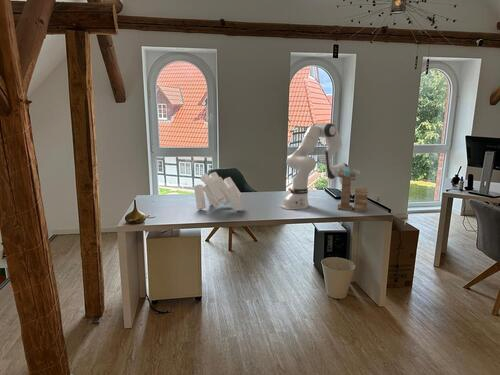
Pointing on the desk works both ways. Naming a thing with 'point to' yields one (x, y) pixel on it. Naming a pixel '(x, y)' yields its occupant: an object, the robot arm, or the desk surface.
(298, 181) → the robot arm
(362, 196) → the oak block
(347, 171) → the teal bar
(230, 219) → the desk surface
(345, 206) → the walnut shelf post
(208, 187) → the pile of blocks
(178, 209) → the desk surface
